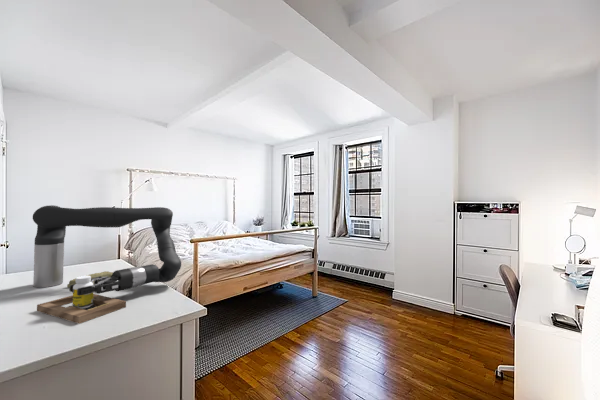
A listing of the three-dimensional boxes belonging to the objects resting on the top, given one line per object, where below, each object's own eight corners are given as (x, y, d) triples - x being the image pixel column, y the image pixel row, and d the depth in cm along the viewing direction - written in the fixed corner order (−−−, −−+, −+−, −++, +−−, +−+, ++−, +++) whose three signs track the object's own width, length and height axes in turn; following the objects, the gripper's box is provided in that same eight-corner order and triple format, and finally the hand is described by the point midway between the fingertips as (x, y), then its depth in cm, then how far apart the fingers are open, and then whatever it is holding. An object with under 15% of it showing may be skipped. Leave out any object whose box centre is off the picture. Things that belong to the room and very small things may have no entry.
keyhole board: (36, 311, 87) (37, 304, 87) (85, 297, 100) (85, 291, 100) (79, 323, 79) (79, 316, 79) (125, 307, 92) (126, 300, 92)
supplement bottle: (68, 308, 89) (68, 278, 89) (86, 302, 94) (86, 274, 94) (79, 310, 87) (79, 280, 87) (97, 304, 92) (97, 275, 92)
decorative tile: (104, 277, 128) (104, 270, 128) (140, 280, 124) (140, 273, 124) (62, 289, 110) (62, 280, 110) (103, 294, 106) (103, 284, 106)
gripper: (119, 265, 106) (65, 275, 92) (139, 271, 99) (83, 282, 84) (119, 284, 106) (64, 297, 92) (139, 291, 98) (83, 307, 84)
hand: (74, 290), depth 88 cm, fingers closed on supplement bottle, 5 cm apart
